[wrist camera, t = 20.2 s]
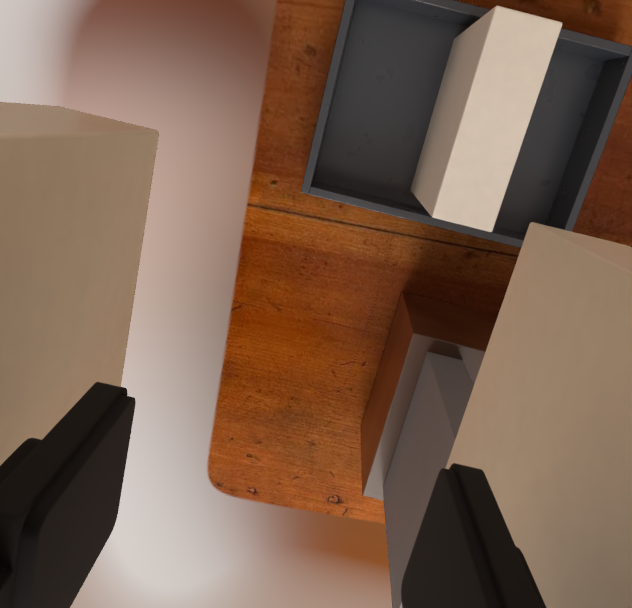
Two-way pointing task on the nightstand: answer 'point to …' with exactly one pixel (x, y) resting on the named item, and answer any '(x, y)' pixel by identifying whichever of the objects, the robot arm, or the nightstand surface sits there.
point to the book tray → (418, 104)
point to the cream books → (487, 395)
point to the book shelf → (414, 372)
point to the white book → (483, 115)
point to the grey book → (422, 456)
